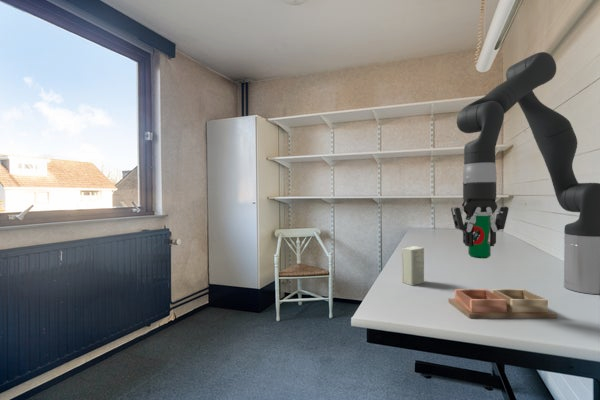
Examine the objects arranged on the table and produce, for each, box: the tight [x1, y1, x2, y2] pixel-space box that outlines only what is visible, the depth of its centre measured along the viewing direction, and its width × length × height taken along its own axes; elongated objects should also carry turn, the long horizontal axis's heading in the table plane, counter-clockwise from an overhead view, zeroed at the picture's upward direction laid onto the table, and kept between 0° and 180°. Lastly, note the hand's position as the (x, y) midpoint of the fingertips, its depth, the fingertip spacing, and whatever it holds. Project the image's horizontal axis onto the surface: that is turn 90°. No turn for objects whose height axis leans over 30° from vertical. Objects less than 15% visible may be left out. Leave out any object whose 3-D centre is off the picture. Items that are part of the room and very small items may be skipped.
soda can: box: [467, 212, 492, 260], centre depth 80 cm, size 5×5×12 cm
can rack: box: [447, 288, 557, 319], centre depth 80 cm, size 21×11×4 cm, turn 89°
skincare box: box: [401, 245, 425, 286], centre depth 104 cm, size 6×4×12 cm
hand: (479, 245), depth 80 cm, fingers closed on soda can, 5 cm apart
